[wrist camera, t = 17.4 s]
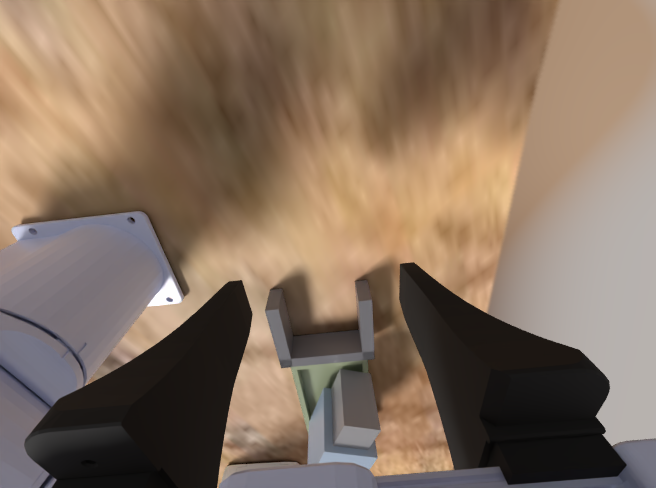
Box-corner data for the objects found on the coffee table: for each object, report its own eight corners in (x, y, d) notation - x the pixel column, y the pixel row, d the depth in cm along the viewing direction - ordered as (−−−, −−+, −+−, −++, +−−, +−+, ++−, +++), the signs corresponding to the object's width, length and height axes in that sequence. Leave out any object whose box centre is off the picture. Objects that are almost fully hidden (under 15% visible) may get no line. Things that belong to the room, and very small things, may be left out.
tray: (309, 421, 33) (308, 435, 31) (292, 353, 27) (290, 367, 26) (369, 416, 32) (371, 430, 31) (365, 346, 27) (367, 359, 26)
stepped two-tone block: (308, 422, 30) (306, 485, 25) (332, 367, 26) (334, 431, 21) (349, 427, 31) (354, 490, 26) (378, 375, 27) (391, 438, 22)
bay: (284, 344, 27) (281, 368, 24) (270, 289, 23) (265, 310, 21) (370, 336, 26) (374, 359, 24) (367, 279, 23) (372, 299, 21)
